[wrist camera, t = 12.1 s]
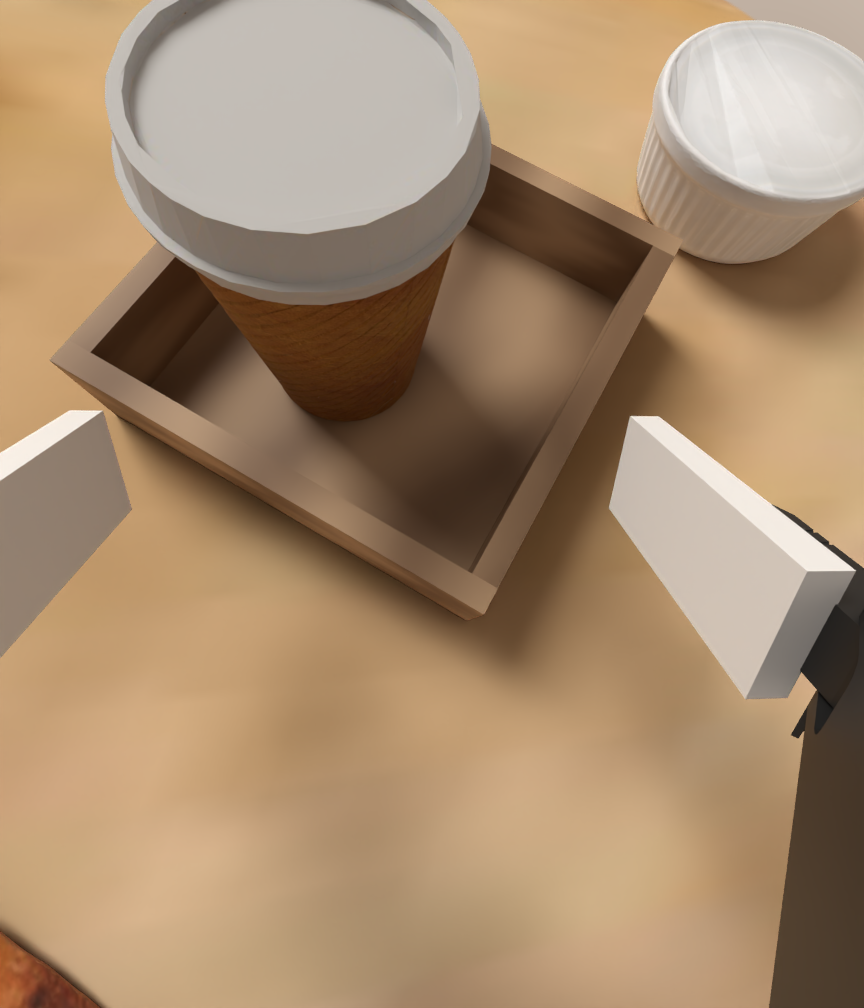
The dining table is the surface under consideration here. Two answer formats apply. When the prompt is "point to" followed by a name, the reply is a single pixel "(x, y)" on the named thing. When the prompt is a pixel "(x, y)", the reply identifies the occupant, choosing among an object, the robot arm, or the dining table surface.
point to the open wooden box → (427, 401)
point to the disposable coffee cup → (305, 175)
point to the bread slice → (34, 982)
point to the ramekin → (753, 140)
